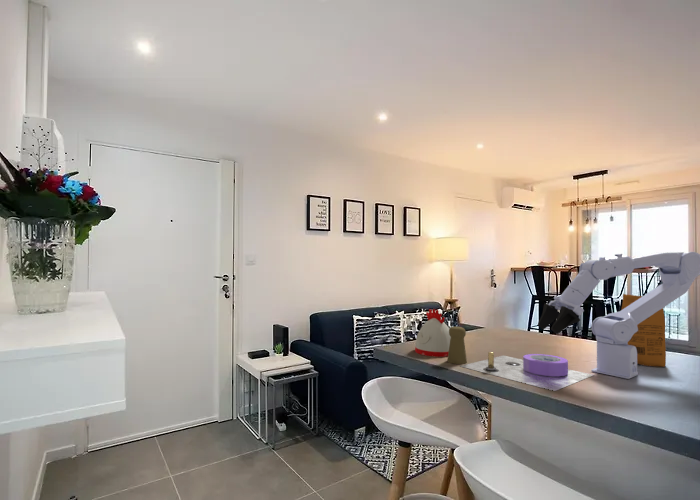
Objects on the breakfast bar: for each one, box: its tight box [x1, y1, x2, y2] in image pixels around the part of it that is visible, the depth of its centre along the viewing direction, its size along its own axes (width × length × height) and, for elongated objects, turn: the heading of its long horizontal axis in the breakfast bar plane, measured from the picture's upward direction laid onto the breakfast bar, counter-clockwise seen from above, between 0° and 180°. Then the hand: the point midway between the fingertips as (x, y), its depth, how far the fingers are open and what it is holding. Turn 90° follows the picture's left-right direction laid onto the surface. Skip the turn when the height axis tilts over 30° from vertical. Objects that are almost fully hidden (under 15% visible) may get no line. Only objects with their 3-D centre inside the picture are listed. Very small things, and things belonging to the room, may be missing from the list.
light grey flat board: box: [459, 355, 594, 392], centre depth 115 cm, size 28×24×1 cm
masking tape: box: [522, 353, 569, 376], centre depth 114 cm, size 12×12×4 cm
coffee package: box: [620, 293, 667, 368], centre depth 127 cm, size 10×12×22 cm
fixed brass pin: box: [486, 351, 496, 371], centre depth 115 cm, size 3×3×5 cm
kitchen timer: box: [414, 308, 451, 358], centre depth 138 cm, size 14×14×15 cm
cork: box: [446, 326, 468, 365], centre depth 125 cm, size 6×6×11 cm
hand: (546, 329), depth 114 cm, fingers open, 7 cm apart
